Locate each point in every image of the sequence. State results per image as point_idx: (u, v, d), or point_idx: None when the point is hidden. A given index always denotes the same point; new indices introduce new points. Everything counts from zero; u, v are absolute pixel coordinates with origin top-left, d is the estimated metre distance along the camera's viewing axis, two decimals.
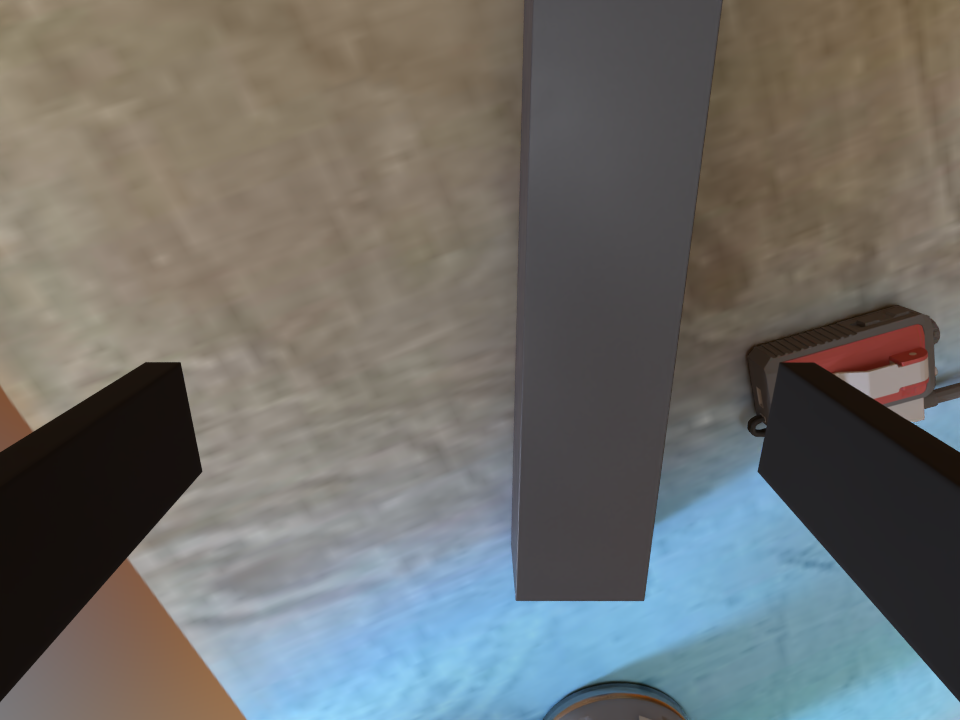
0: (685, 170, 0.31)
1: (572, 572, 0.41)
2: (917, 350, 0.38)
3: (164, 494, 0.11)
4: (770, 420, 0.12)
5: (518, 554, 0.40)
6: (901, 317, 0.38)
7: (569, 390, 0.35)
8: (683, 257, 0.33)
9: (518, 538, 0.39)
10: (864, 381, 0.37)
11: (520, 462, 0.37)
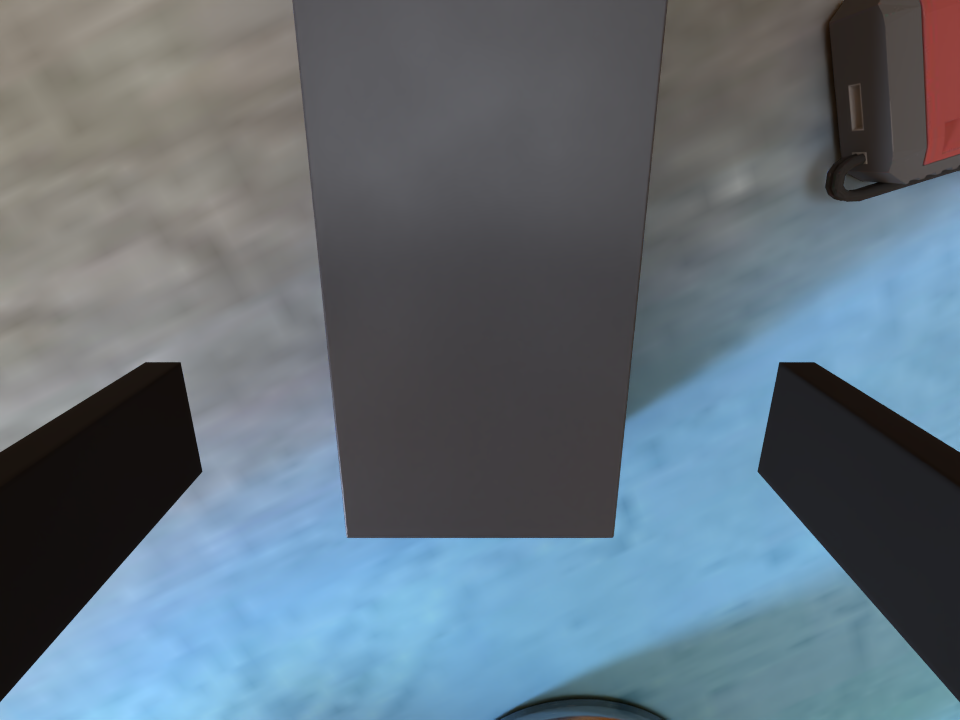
0: None
1: (458, 474, 0.19)
2: None
3: (164, 494, 0.11)
4: (770, 420, 0.12)
5: (338, 432, 0.18)
6: None
7: None
8: None
9: (334, 394, 0.18)
10: None
11: (314, 196, 0.16)
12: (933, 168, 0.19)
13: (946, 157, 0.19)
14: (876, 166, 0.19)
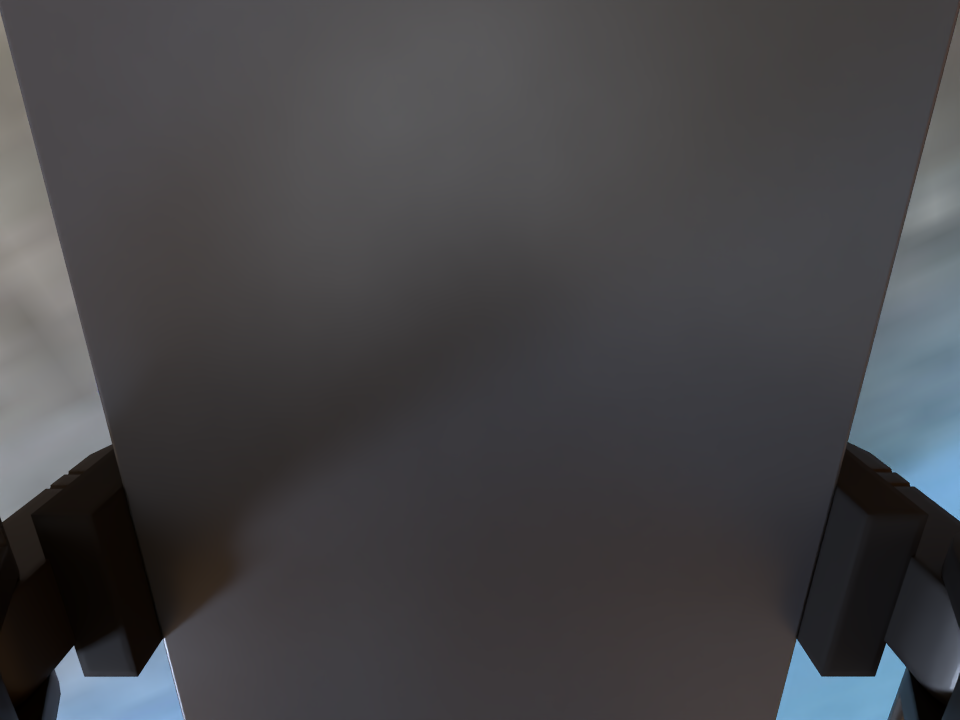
0: None
1: None
2: None
3: None
4: None
5: None
6: None
7: None
8: None
9: (171, 659, 0.09)
10: None
11: (68, 256, 0.06)
12: None
13: None
14: None
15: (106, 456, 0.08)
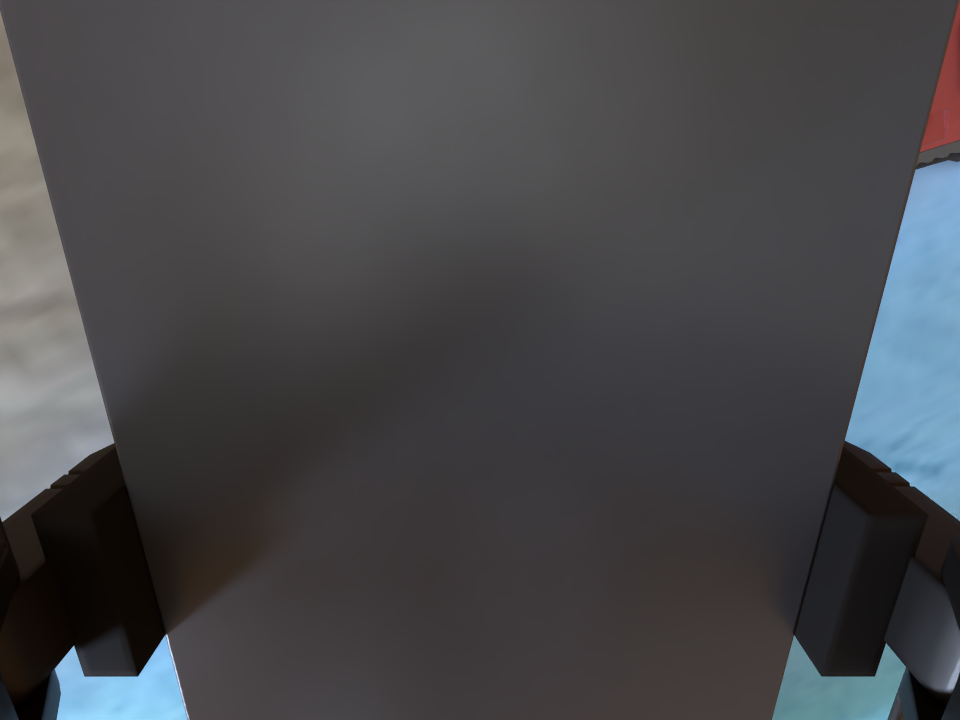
0: None
1: None
2: None
3: None
4: None
5: (192, 718, 0.09)
6: None
7: None
8: None
9: (173, 653, 0.09)
10: None
11: (69, 252, 0.06)
12: None
13: (921, 151, 0.20)
14: None
15: (106, 456, 0.08)
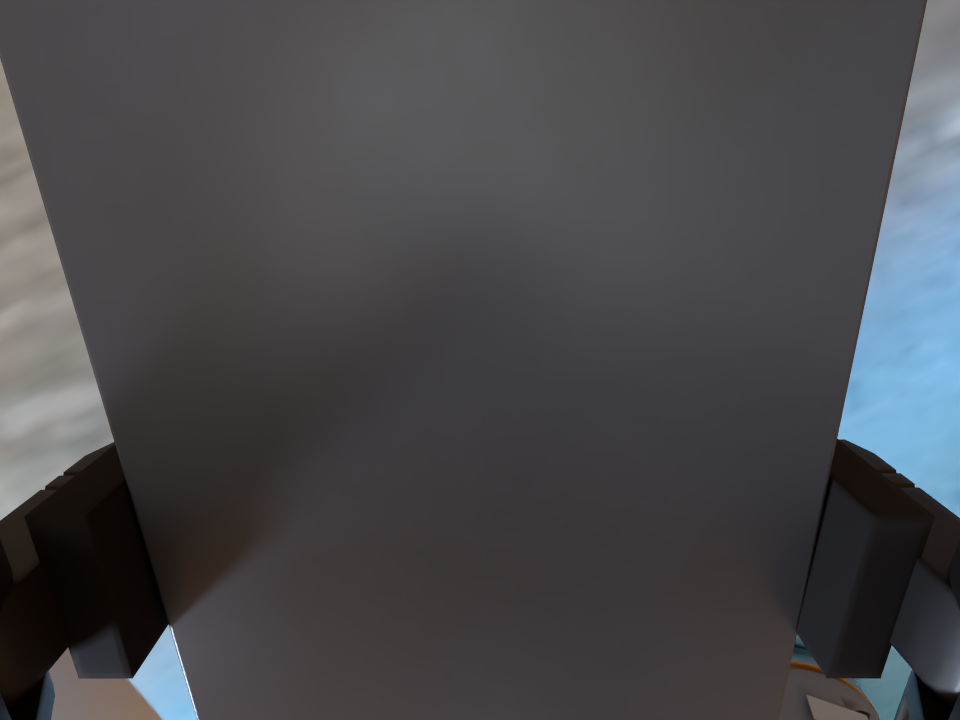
0: None
1: None
2: None
3: None
4: None
5: (201, 716, 0.09)
6: None
7: None
8: None
9: (180, 652, 0.09)
10: None
11: (62, 250, 0.06)
12: None
13: None
14: None
15: (101, 457, 0.08)
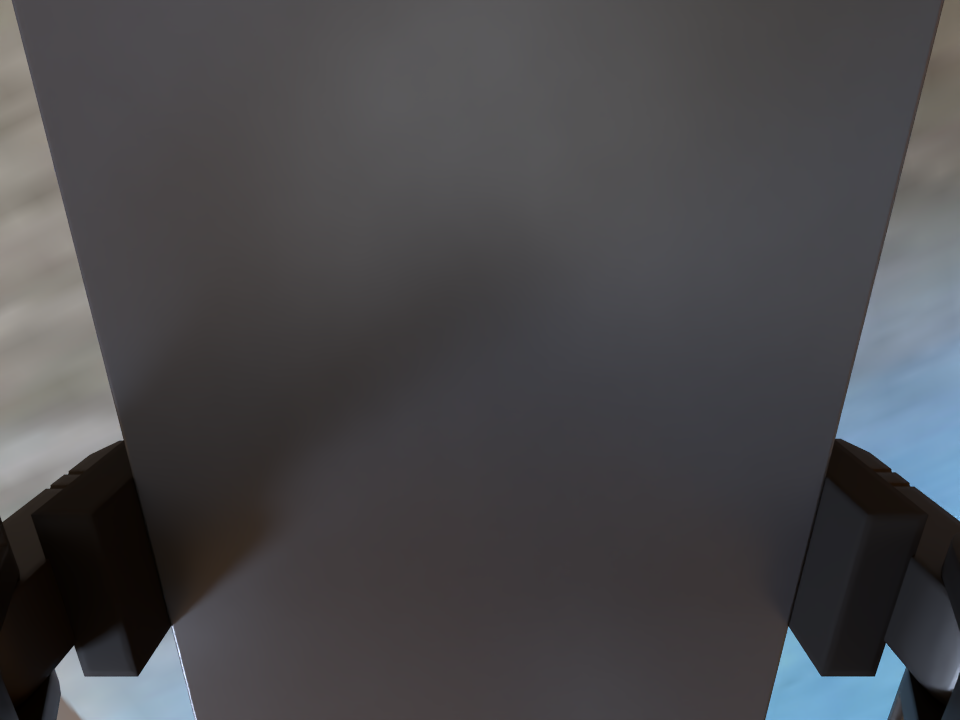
0: None
1: None
2: None
3: None
4: None
5: (194, 701, 0.09)
6: None
7: None
8: None
9: (177, 636, 0.09)
10: None
11: (76, 235, 0.07)
12: None
13: None
14: None
15: (106, 456, 0.08)
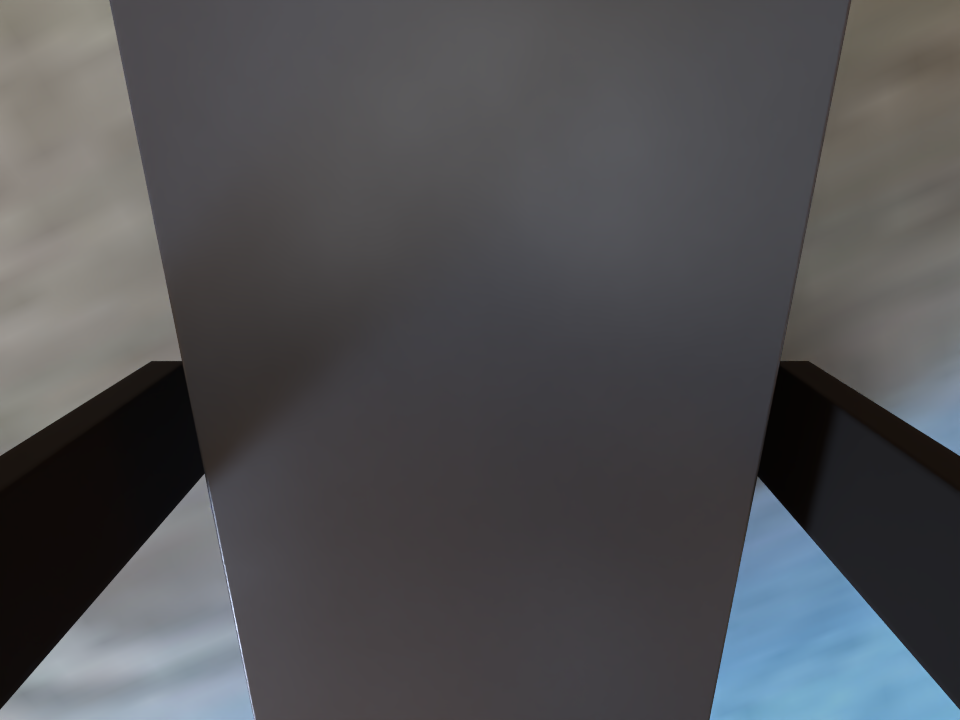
0: None
1: (445, 687, 0.11)
2: None
3: (170, 492, 0.11)
4: None
5: (239, 627, 0.11)
6: None
7: None
8: None
9: (226, 569, 0.10)
10: None
11: (159, 231, 0.08)
12: None
13: None
14: None
15: None
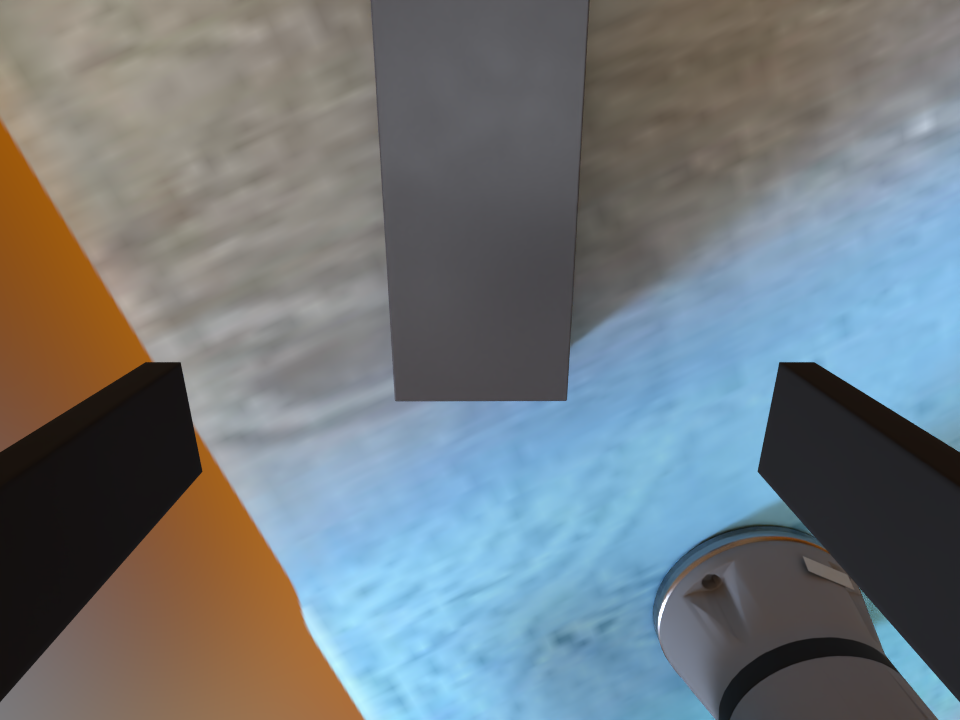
0: None
1: (467, 356, 0.30)
2: None
3: (164, 494, 0.11)
4: (770, 420, 0.12)
5: (392, 328, 0.30)
6: None
7: (440, 56, 0.25)
8: None
9: (390, 303, 0.29)
10: None
11: (382, 179, 0.27)
12: None
13: None
14: None
15: None
